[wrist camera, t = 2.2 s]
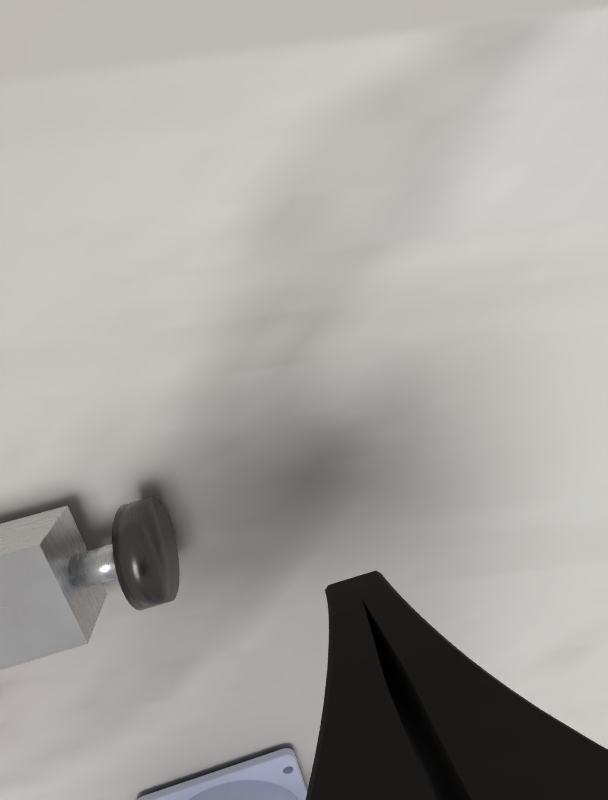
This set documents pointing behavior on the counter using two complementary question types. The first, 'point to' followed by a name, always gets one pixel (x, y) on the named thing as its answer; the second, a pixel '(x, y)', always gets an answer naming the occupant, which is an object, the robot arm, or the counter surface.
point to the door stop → (78, 576)
